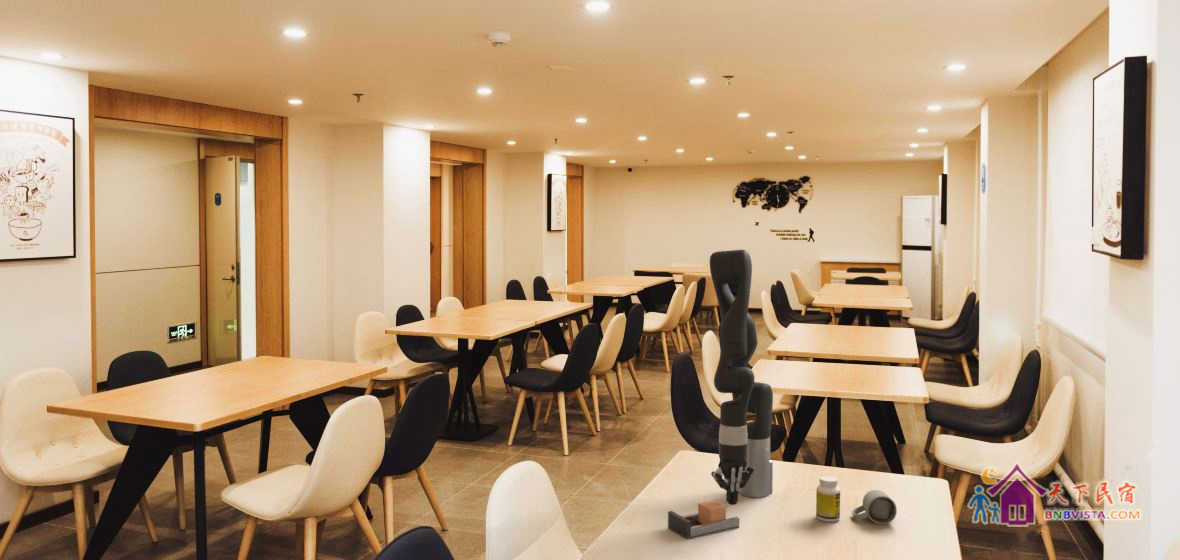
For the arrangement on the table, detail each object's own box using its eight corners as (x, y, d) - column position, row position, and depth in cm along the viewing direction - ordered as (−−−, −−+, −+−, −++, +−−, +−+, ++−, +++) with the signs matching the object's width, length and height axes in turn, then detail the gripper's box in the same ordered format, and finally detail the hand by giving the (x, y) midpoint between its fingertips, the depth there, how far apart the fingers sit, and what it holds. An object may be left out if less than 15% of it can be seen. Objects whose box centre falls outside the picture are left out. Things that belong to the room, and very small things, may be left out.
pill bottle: (840, 523, 211) (840, 483, 210) (815, 521, 213) (816, 481, 212) (839, 515, 217) (840, 476, 216) (816, 513, 219) (816, 474, 218)
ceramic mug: (888, 513, 218) (888, 486, 217) (897, 525, 210) (897, 496, 209) (848, 513, 219) (848, 486, 218) (856, 524, 211) (856, 496, 210)
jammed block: (713, 518, 214) (713, 500, 213) (725, 525, 209) (726, 506, 209) (698, 521, 211) (698, 503, 211) (710, 528, 207) (710, 509, 206)
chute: (719, 516, 217) (719, 500, 216) (739, 527, 209) (739, 510, 209) (668, 528, 209) (668, 511, 208) (686, 539, 201) (686, 522, 201)
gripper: (744, 434, 219) (743, 496, 220) (704, 440, 213) (703, 503, 214) (761, 441, 212) (760, 504, 213) (721, 446, 206) (720, 512, 207)
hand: (732, 504), depth 213 cm, fingers closed
